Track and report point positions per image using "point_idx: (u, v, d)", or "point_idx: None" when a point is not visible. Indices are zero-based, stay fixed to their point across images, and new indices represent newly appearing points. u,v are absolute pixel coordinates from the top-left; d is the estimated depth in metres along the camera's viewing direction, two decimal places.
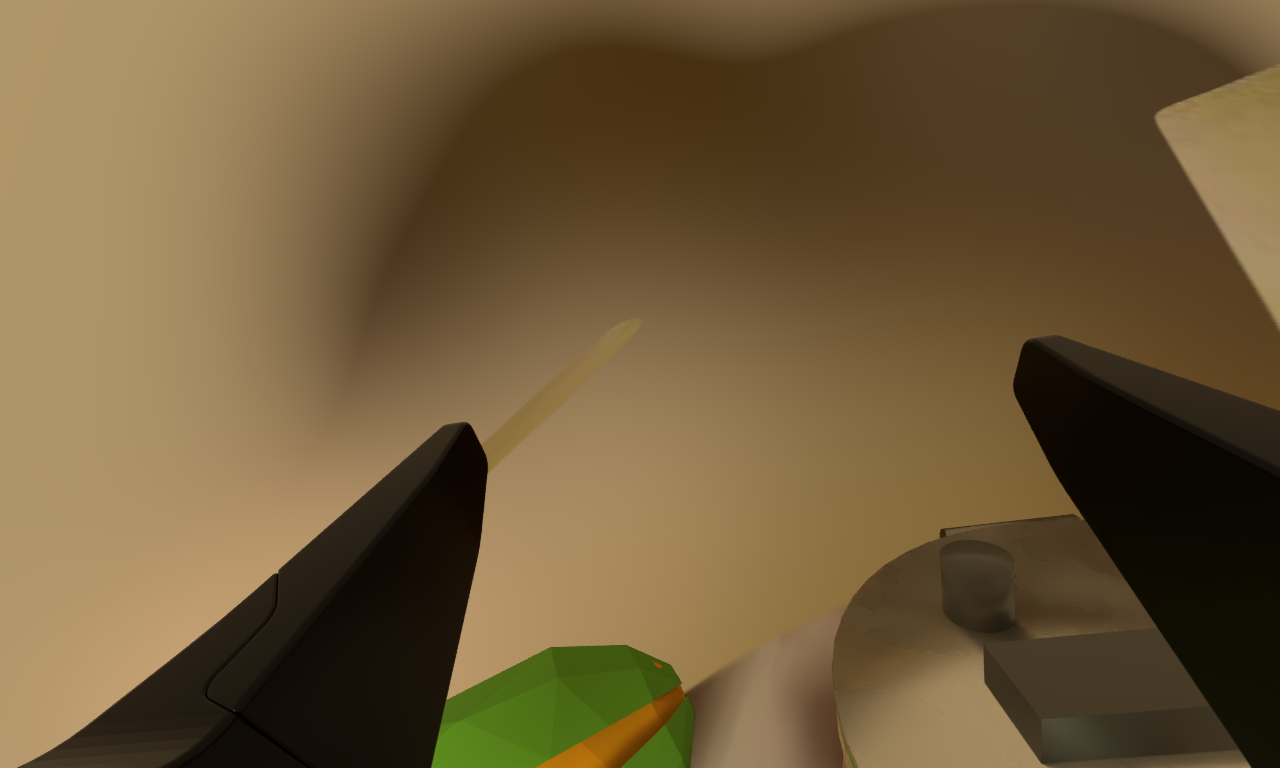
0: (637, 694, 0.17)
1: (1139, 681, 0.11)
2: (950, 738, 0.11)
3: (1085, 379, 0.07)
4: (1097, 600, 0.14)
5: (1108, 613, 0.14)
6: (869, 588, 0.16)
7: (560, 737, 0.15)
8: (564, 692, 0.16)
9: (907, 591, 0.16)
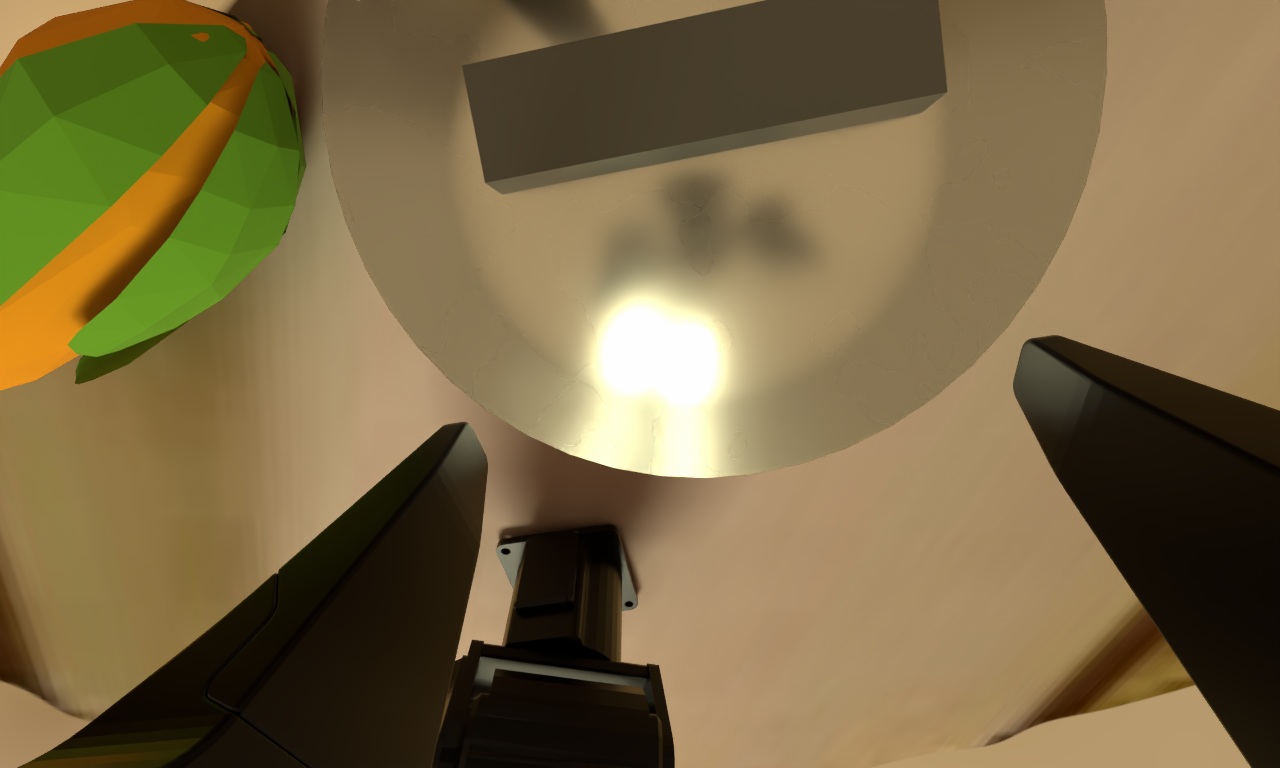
0: (181, 103, 0.14)
1: (596, 120, 0.10)
2: (430, 171, 0.11)
3: (1085, 379, 0.07)
4: None
5: None
6: None
7: (108, 182, 0.14)
8: (77, 131, 0.13)
9: None
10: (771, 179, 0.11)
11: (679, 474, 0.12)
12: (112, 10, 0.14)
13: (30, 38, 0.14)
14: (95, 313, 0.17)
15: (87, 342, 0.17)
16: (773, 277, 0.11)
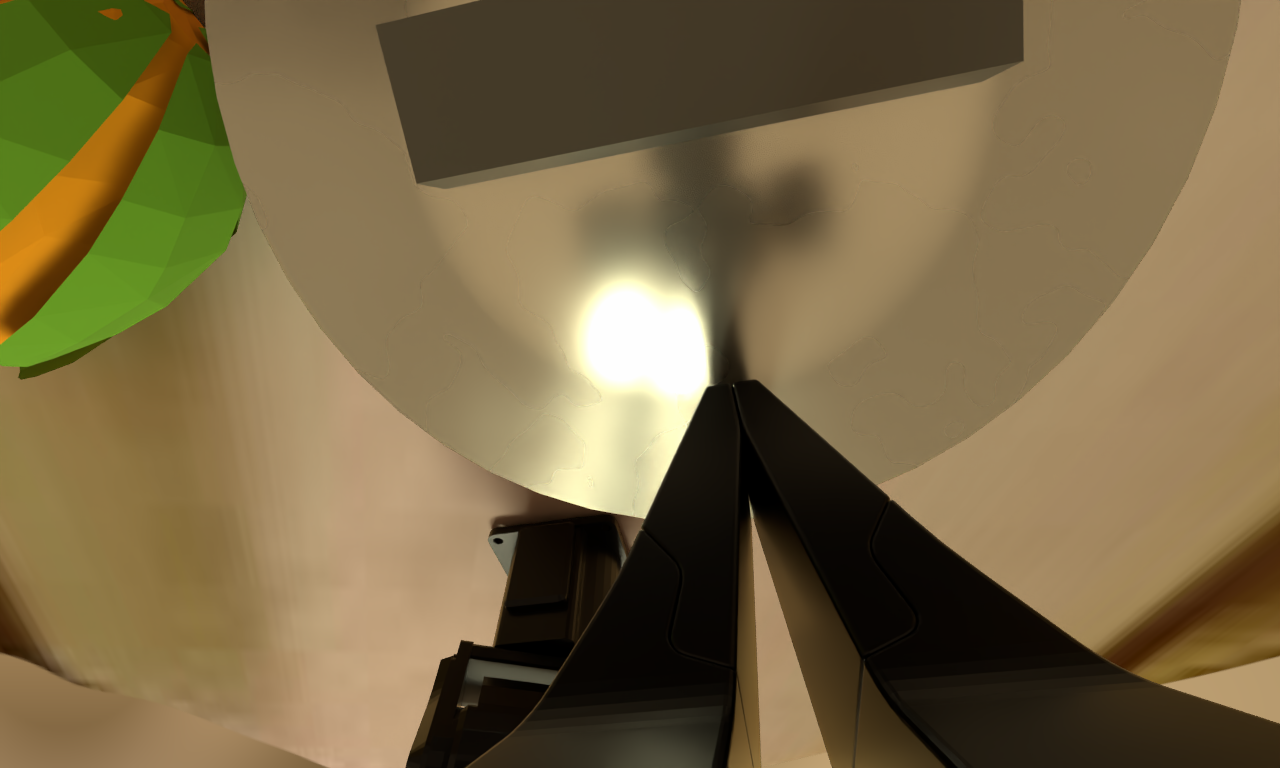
0: (90, 98, 0.11)
1: (554, 101, 0.07)
2: (355, 159, 0.09)
3: (743, 426, 0.08)
4: None
5: None
6: None
7: (6, 191, 0.11)
8: None
9: None
10: (782, 170, 0.08)
11: None
12: None
13: None
14: (20, 322, 0.15)
15: (11, 355, 0.15)
16: (782, 293, 0.09)
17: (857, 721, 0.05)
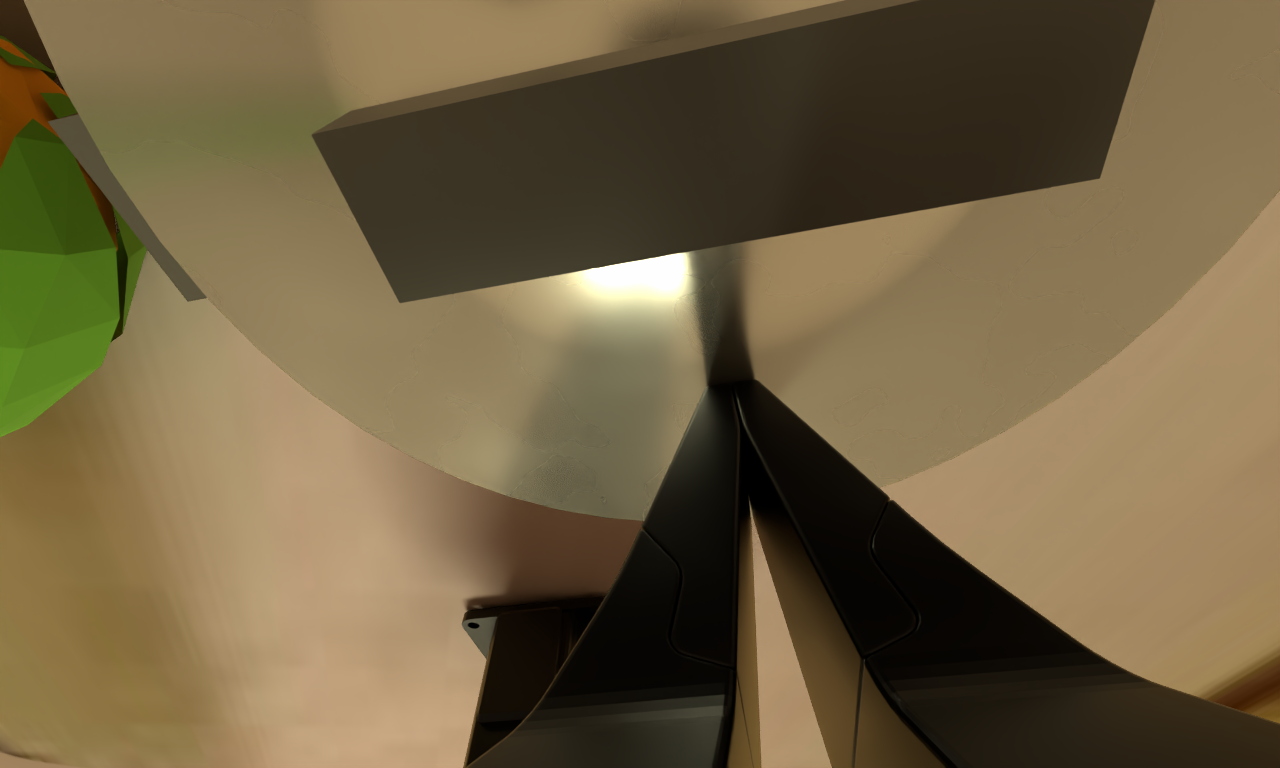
0: None
1: (552, 220, 0.06)
2: (309, 236, 0.07)
3: (743, 426, 0.08)
4: None
5: None
6: None
7: None
8: None
9: None
10: (806, 244, 0.08)
11: None
12: None
13: None
14: None
15: None
16: (794, 355, 0.09)
17: (857, 721, 0.05)
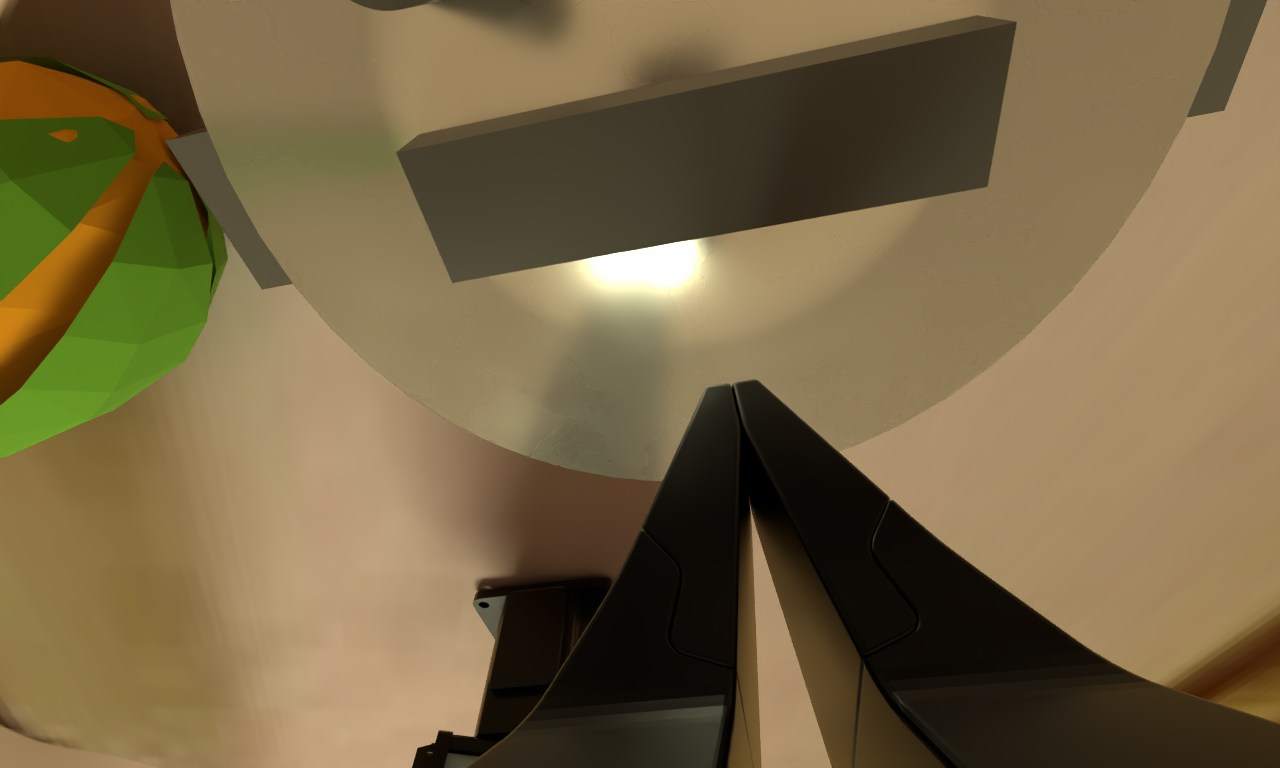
0: (32, 230, 0.10)
1: (573, 218, 0.08)
2: (378, 231, 0.09)
3: (743, 426, 0.08)
4: None
5: None
6: None
7: None
8: None
9: None
10: (773, 239, 0.09)
11: None
12: None
13: None
14: None
15: None
16: (766, 331, 0.11)
17: (857, 721, 0.05)
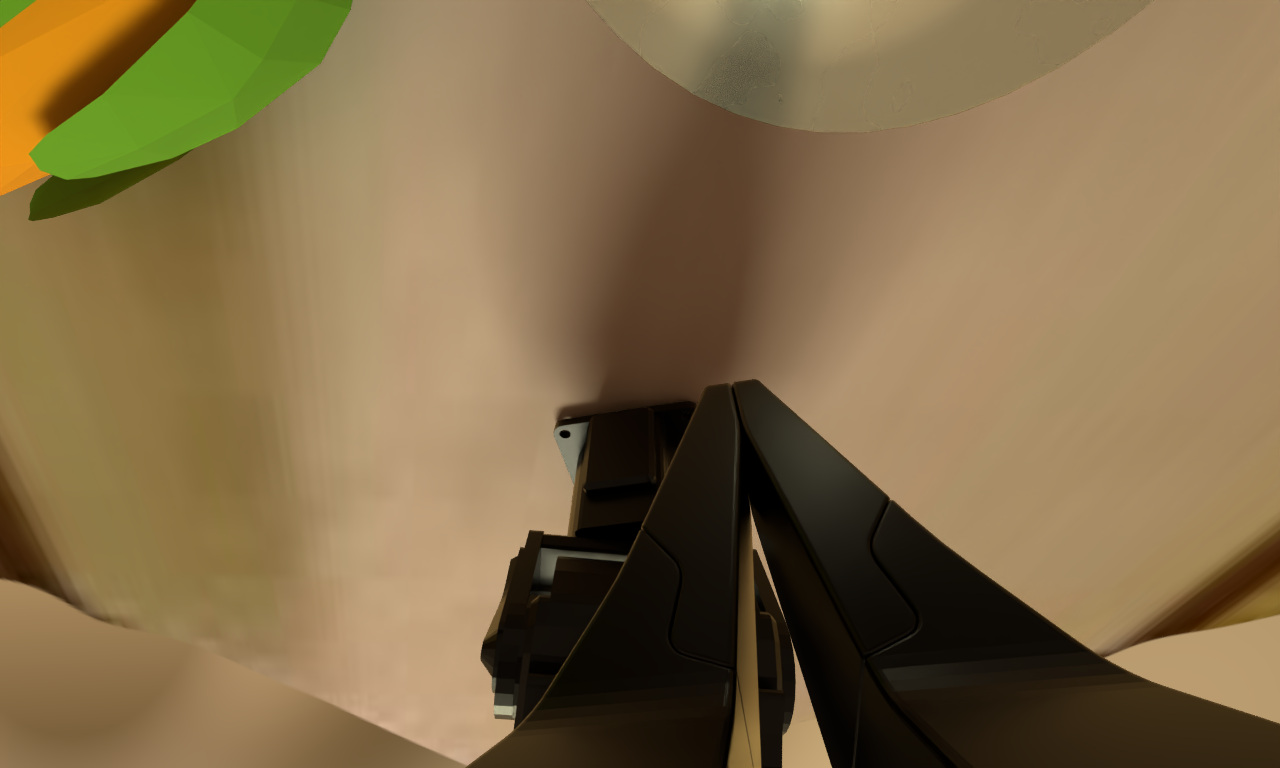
0: None
1: None
2: None
3: (743, 426, 0.08)
4: None
5: None
6: None
7: None
8: None
9: None
10: None
11: (837, 130, 0.12)
12: None
13: None
14: (68, 118, 0.13)
15: (56, 155, 0.13)
16: None
17: (857, 721, 0.05)
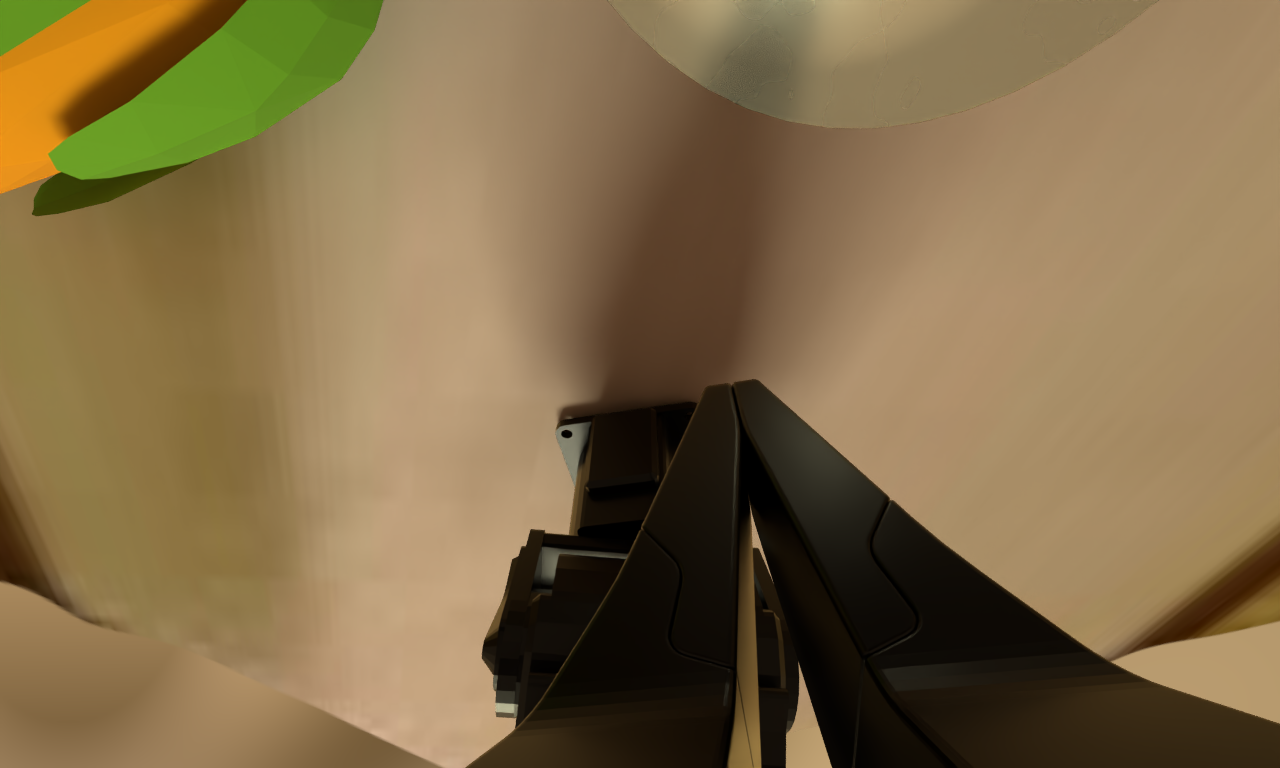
0: None
1: None
2: None
3: (743, 426, 0.08)
4: None
5: None
6: None
7: None
8: None
9: None
10: None
11: (846, 126, 0.12)
12: None
13: None
14: (89, 120, 0.13)
15: (75, 156, 0.13)
16: None
17: (857, 721, 0.05)
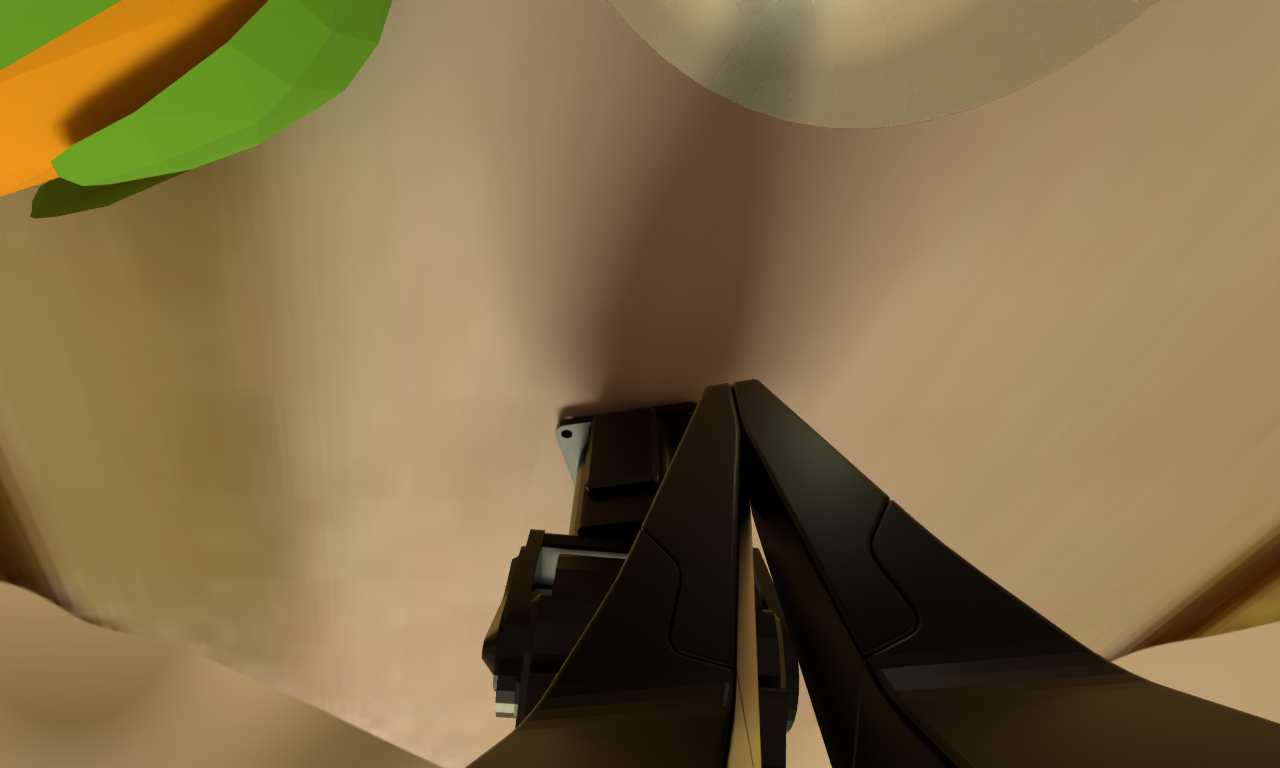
0: None
1: None
2: None
3: (743, 426, 0.08)
4: None
5: None
6: None
7: None
8: None
9: None
10: None
11: (846, 126, 0.12)
12: None
13: None
14: (91, 128, 0.13)
15: (77, 163, 0.13)
16: None
17: (857, 721, 0.05)
